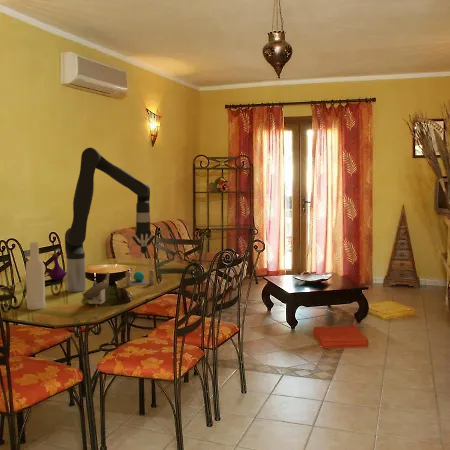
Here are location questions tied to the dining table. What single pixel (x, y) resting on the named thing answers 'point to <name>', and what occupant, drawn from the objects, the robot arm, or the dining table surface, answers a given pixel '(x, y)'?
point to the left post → (128, 279)
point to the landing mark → (138, 282)
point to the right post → (151, 277)
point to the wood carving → (97, 291)
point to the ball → (138, 276)
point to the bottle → (35, 279)
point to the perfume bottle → (56, 268)
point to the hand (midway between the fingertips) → (143, 253)
